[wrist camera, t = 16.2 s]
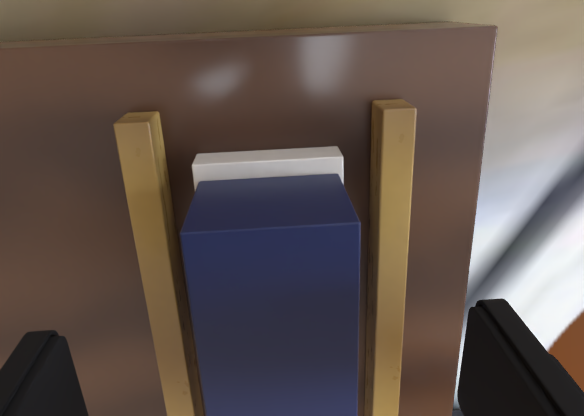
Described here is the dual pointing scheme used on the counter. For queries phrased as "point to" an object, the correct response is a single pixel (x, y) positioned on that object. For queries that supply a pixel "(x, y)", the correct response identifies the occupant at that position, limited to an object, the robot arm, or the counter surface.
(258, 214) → the blue box
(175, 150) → the brown rectangular slab
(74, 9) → the counter surface
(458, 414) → the canister
